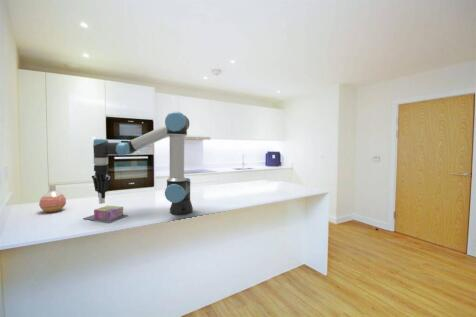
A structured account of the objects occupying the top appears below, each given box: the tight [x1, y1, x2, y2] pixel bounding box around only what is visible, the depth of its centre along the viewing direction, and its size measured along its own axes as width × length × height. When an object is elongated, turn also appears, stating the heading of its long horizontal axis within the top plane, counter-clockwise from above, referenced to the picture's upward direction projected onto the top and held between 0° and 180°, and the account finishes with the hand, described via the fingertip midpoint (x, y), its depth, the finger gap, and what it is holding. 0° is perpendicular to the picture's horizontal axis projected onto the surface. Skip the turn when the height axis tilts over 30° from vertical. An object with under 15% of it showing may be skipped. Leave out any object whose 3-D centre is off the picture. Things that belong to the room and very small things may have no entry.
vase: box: [38, 184, 67, 213], centre depth 149 cm, size 14×14×18 cm
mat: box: [82, 214, 129, 224], centre depth 138 cm, size 20×14×1 cm
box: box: [93, 205, 124, 221], centre depth 137 cm, size 10×6×12 cm
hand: (101, 203), depth 138 cm, fingers closed
